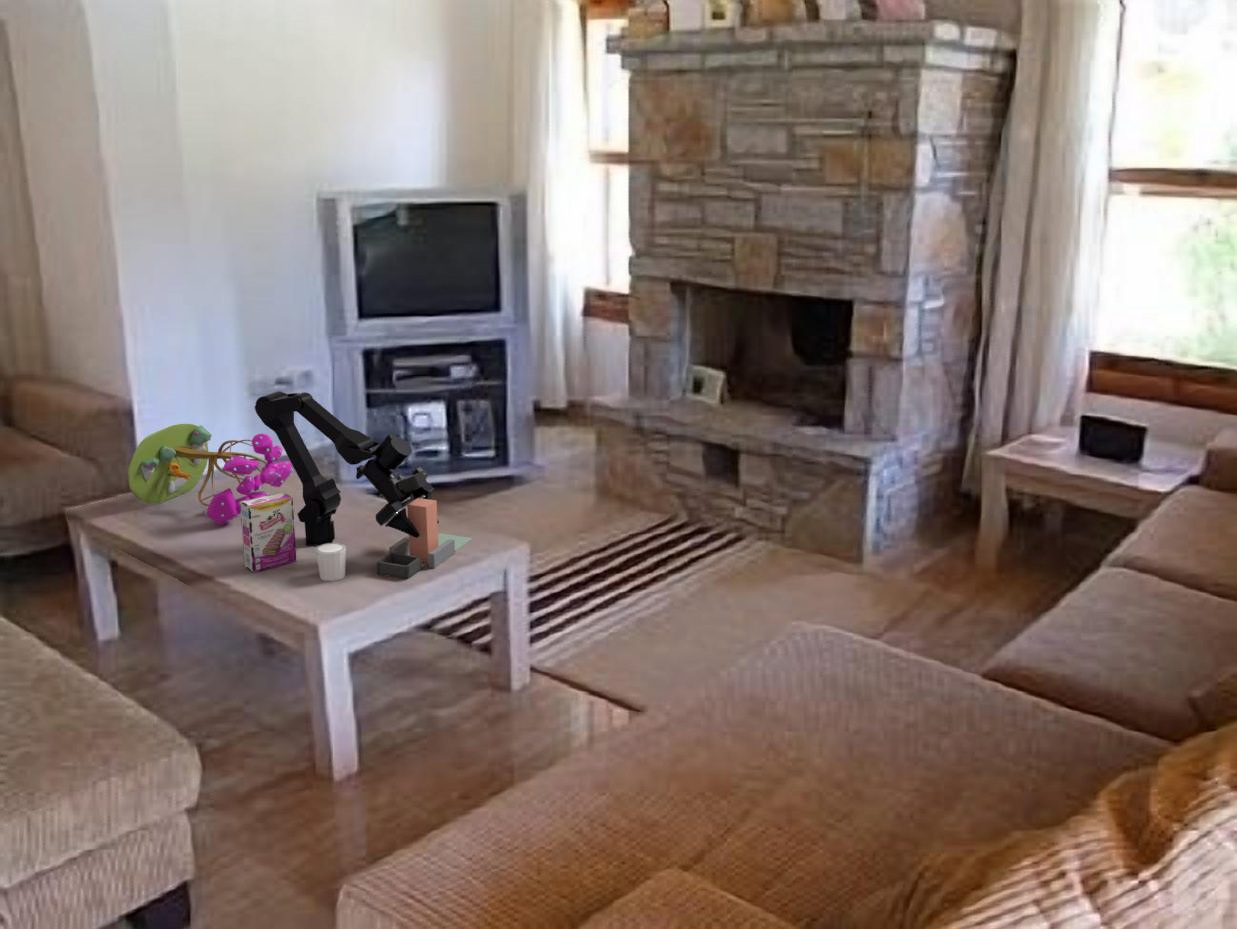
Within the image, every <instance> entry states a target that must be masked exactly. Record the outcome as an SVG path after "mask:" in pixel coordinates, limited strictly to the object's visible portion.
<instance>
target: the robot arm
mask: <svg viewBox="0 0 1237 929" xmlns="http://www.w3.org/2000/svg"><path fill="white" fill-rule="evenodd" d="M254 410H255V413H256V415H257V416H258V417H259V419H260V420H261V422H262V423H263V425H265V426H266V427H268V428H269V429H270V430H272V431H273V432H274V434H276V436H277V438H278V441H279V442H280V444H281V446H282V448H283V449H284V451H285V454H286V455H287V457H288V460H289V461H290V462H291V466H293V467H292V468H294V469H293V470H295V472H296V475H297V477H298V479H299V480H300V481H301V485H302V499H303V503H304V504H305V505H304V506H303V507H302V508H301V509H300V510H299V512H297V518H298V520H299V522H300V523H304V534H305V541H304V542H305V543H304V546H305V547H306V546H307V547H310V546H311V547H312V546H320V545H322V544H326V543H334V542H333V541H334V540H335V538H336V530H335V528H336V527H335V521H334V520H332V519H333V518H332V516H333V515H336V513H337V510H338V508H339V507H340V504H341V501H342V497H341V494H340V493H341V492H342V491H341V490H340V489H339V488H338V486H337V484H336V482H335V480H334V479H333V478H329V479H327V478H326V477H325V476H323V475H322V474H321V472H320V470H319V469H318V466H317V465H316V463H315V461H314V458H313V456H312V455H311V454H310V451H309V449H308V448H307V446H306V443H305V441H304V440H303V437H302V436H301V434H300V432H299V430H298V428H297V427H296V425H295V413H296V412H297V413H298V414H299V415H300V416H301V417H303V418H304V419H305V420H306V421H307V422H308V423H310V424H311V425H312V426H313V427H315V429H317V430H318V431H320V433H322V434H323V435H324V436H325V437H326V438H328V439H329V440H330V441H331V442H332V443H333V444H334V446H335V450H336V452H337V453H338V454H339V456H340V457H341V458H342V459H343V460H344V461H345V462H346V463H347V464H349V465H352V466H354V465H358V464H361V463H362V462H364V461H367V462H365V463H364V465H359V466H357V467H356V468H355V469H356V475H355V476H356V477H355V478H356V480H359V479H361V478H364V477H365V478H366V479H367V480H368V482H369V483H370V484H371V485H372V486H373V487H374V488H375V489H376V491H377V492H376V493H375V495H376V496H377V497H378V498H379V497H381V496H382V497H383V499H384V500H385V501H386V502H387V503H385V505H384V506H382V508H381V509H380V510H379V511H378V512H377V513H376V514H375V522H377V524H378V525H379V526H380V527H382V526H385V528H387V527H389V528H392V529H395V530H397V531H400V532H401V533H402V532H403V533H405V534H407V535H411V536H413V537H416V538H418V537H419V536H420V534H419V532H418V531H417V529H416V528H415V527H414V525H413V524H412V523H411V521H410V520H409V519H408V514H407V508H406V507H407V504H409V503H411V502H412V501H414V500H416V499H417V498H421V499H429V500H432V495H433V490H434V489H435V488H434V487H433V485H432V484H431V483H429V482H428V481H427V478H428V473H427V472H426V471H425V470H424V469H423V468H422V467H421V466H418V467H416V468H413V469H412V471H411V475H408V476H407V477H405V476H404V475H403V474H400V473H399V474H396V473H395V472H394V471H395V470H397V469H398V468H399V467H400V466H401V465H402V464H403V463H404V462H405V461H406V460H407V459H408V458H409V457H410V456H411V455H412V452H413V448H412V446H411V445H410V443H409V441H407V440H405V439H403V438H402V437H400V436H396V435H395V434H394V433H390V434H388V435H386V437H385V438H384V440H383V441H382V442H379V441H376V440H373V439H372V438H371V437H369V436H368V435H366V434H364V433H363V432H361V431H359V430H355V429H353V428H350V427H348V426H347V425H345V424H344V423H343V422H342V421H340V420H339V419H338V418H337V417H335V416H334V414H332V413H331V412H330V411H328V410H327V409H326V408H325V407H324V406H322V404H320V403H319V402H318V401H317V400H315V399H314V398H313V395H312V394H310V393H309V392H301V393H300V392H293V393H287V392H283V391H279V390H278V391H274V392H271V393H268V394H266V395H262V396H260V397H258V398H257V399H256V402H255V405H254ZM374 457H375V458H374ZM371 458H372V459H371ZM373 458H374V459H373ZM393 470H394V471H393ZM437 523H438V524H439V523H440V521H439V518H438V517H437Z"/></svg>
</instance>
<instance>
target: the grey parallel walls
mask: <svg viewBox="0 0 1237 929" xmlns="http://www.w3.org/2000/svg"><path fill="white" fill-rule="evenodd" d="M388 548H389V554H390V553H398V554H404V555H409V554H410V548H409V534H407V535H406V536H405V537H403V538H402V539H400V540H398V541H397V542H396V543H394V544H393V545H391V546H389V547H388ZM455 553H456V551H455V543H454V540H451V539H448V540H447V541H446V542H444V543H443V544H441V545H440V546H438V547H437V548H436V549H434V550H433V551H431V552H430V553H428V555H429V563H428V568H430V569H436V568H437V567H439V566H440V565H441V564H443V563H444V562H445V561H448V560H449V559H450V558H451V557H452V556H453V554H454V555H455ZM389 554H388V555H389Z"/></svg>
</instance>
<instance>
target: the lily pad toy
mask: <svg viewBox="0 0 1237 929" xmlns="http://www.w3.org/2000/svg"><path fill="white" fill-rule="evenodd" d="M211 438H212V434H211V433H210V431H209V430H208V429H206V428H205V427H204V426H203V425H196V424H193V423H192V424H191V423H177V424H173V425H170V426H168V427H165V428H162V429H159V430H157V431H155V432H153V433H151V434H148V435H147V436H145V437H144V438H143V439H142V440H141V441H140V442H139V444H138V446H137V447H136V449H135V451H134V453H133V456H132V458H131V461H130V462H129V463H130V464H129V466H128V471H127V480H128V485H129V489H130V492H131V493H132V494H133V495H134V496H135V497H136V498H137V499H139V500H140V501H143V502H145V503H148V504H162V503H164V502H167V501H169V500H171V498H172V499H175V498H177V497H179V496H181V495H180V494H182V493H184V494H186V493H188V492H187V491H189V492H190V491H191V490H193V489H194V488H196V486H197V484H198V483H199V482H200V480H201V478H203V475H204V472H205V470H206V468H207V471H206V475H205V478H204V480H203V483H202V485H201V487H200V489H199V491H198V493H197V494H198V495H197V498H198V502H199V503H200V504H202V505H203V506H206V507H207V509H206V510H205V511H204V514H205V516H207V517H208V520H209V521H214V522H215V523H217V524H219V525H221V526H224V525H225V524H227V523H228V522H231V521H233V520H234V519H236V518H238V517H239V515H241V511H240V502H241V501H246V500H251V499H255V498H260V497H265V496H269V495H270V494H269V493H268V492H266V491H260V490H261V489H263V485H264V484H266V485H270V487H274V488H275V487H276V488H280V487H281V486H282V485H283V484H284V483H285V481H287V479H288V477H291V473H292V472H294V470H295V469H293V467H292V463H291V461H290V460H286V461H285V460H283V461H279V459H280V458H281V457H282V454H283V449H282V448H283V447H281V446H280V445H278V444H277V445H273V442H274V441H273V439H272V438H271V436H270V435H268V434H267V433H258V434H256V435H254V436H253V438H252V439H241V440H235V439H234V440H233V439H231V440H230V439H229V440H226V441H224V442H222V443H221V445H220V446H219V448H218V451H216V452H215V451H209V445H208V444H209V442H210V441H211ZM247 442H251V444H250V443H247ZM238 443H240V444H244V445H248V446H251V447H252V449H253V451H254V453H255V454H258V455H263V456H264V460H263V459H262V458H259V457H257V456H255V455H253V454H250V453H249V454H248V453H245V452H244V453H243V452H235V451H232V447H233V446H234V445H236V444H238ZM228 444H230V445H229V446H226V447H225V445H228ZM224 447H225V448H224ZM223 448H224V449H223ZM228 450H229V451H228ZM218 459H219V460H222V461H223V462H224V465H223V466H222V468H221V467H220V465H219V463H218ZM278 461H279V462H278ZM259 462H262V463H263V464H264V466H259ZM276 462H277V463H276ZM215 468H216V469H217V470H218V471H219V472H221V473H222V474H224V475H226V476H227V477H230V478H233V479H236V480H237V481H238V483H239V484H238V485H237V487H236V492H238V494H241V495H242V497H239V498H235V496H234V493H233V490H232V489H231V488H230V487H228V488H226V489H224V490H222V491H218V492H216V493H215V492H214V474H215V473H214V472H215ZM254 471H258V472H260V473H259V474H255V475H254V477H252V476H251V474H252V473H253V472H254ZM228 472H229V473H228ZM239 476H241V477H244V478H240V477H239ZM210 478H211V489H212V492H213V493H212V495H209V496H207V497H204V498H202V494H203V492H204V490H205V488H206V486H207V484H208V483H209V481H210ZM241 480H242V481H241ZM185 492H186V493H185ZM178 495H179V496H178ZM182 495H183V494H182ZM243 495H244V496H243ZM176 496H177V497H176ZM211 497H212V499H211V500H210V503H209V504H207V503H205V502H203V501H205V500H207V499H209V498H211Z"/></svg>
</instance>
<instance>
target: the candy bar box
mask: <svg viewBox="0 0 1237 929" xmlns="http://www.w3.org/2000/svg"><path fill="white" fill-rule="evenodd" d="M293 500H294V499H293V496H291V495H289V494H287V493H285V492H280V493H279V492H278V493H275V494H269V496H265V497H260V498H255V499H251V500H246V501H241V502H240V511H241V512H240V520H241V521H240V522H241V533H242V547H243V548H242V550H243V561H244V567H245V568H246V569H247V570H248V571H250V570H251V571H250V572H252V571H253V572H252V573H254V572H255V573H258V572H261V571H264V570H270V569H273V568H276V567H279V566H283V565H288V564H292V563H295V562H297V547H296V532H295V530H296V529H295V519H294V518H295V517H294V514H295V513H294V501H293ZM257 571H258V572H257Z"/></svg>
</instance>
